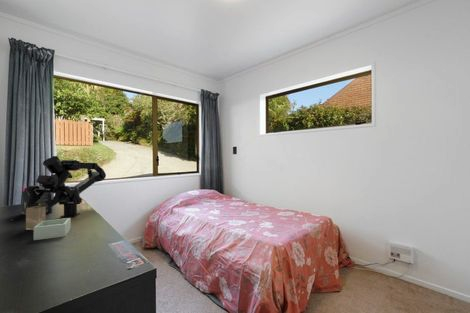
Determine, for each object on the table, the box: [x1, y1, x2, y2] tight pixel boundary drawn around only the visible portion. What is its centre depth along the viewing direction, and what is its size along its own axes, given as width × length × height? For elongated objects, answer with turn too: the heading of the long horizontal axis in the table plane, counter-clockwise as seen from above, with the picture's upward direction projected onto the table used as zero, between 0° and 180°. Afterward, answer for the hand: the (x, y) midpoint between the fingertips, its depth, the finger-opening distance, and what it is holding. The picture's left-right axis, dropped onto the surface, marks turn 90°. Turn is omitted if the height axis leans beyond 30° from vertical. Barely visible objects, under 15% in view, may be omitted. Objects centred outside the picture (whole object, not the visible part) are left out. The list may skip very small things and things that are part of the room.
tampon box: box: [21, 185, 53, 216], centre depth 121 cm, size 11×9×15 cm
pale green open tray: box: [33, 217, 72, 241], centre depth 89 cm, size 10×10×5 cm
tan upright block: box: [25, 207, 47, 231], centre depth 97 cm, size 4×5×9 cm
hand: (38, 207), depth 98 cm, fingers open, 9 cm apart
